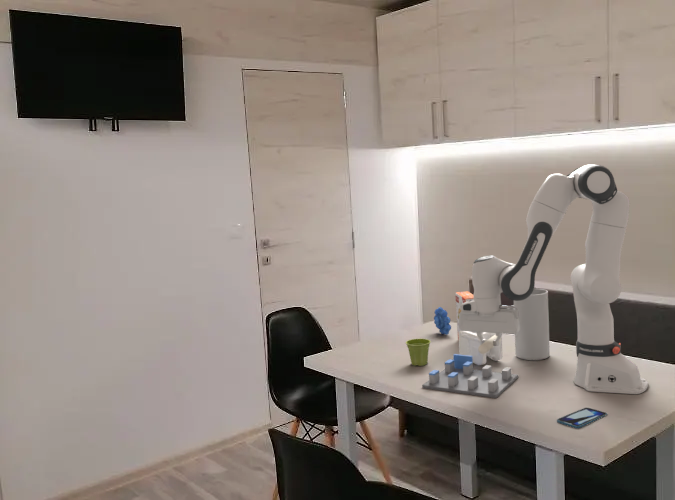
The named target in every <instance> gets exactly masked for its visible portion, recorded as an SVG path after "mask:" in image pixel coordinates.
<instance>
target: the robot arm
mask: <svg viewBox="0 0 675 500" xmlns="http://www.w3.org/2000/svg"><path fill="white" fill-rule="evenodd" d="M578 198H579V199H583V200H589V201H590V202H591V205H592V214H591V217H590V220H589V226H588V228H587V229H588V231H587V235H586V239H585V242H584V249H585V263H583V264H579V265H577V266H575V267H574V268H573V270H572V271H571V273H570V282H571V286H572V287H571V288H572V293H573V294H572V295H573V301H574V307H575V312H576V313H575V314H576V319H577V322H576V323H577V340H576V342H575V343H576V344H575V350H576V351H575V352H576V357H577V360H576V361H577V362H576V369H575V374H574V378H573V383H574V384H575V385H576V386H578V387H581V388H583V389H584V390H585V391H587V392H596V393H597V392H598V393H614V394H628V395H639V394H642V393H644V392H645V391H647V389H648V388H649V384H648V380H647V379H645V378H643V377H641V373H640V369H639V367H638V365H637V364H636V363H635V362H633V361H632V360H630V359H629V358H628V357H626V356H625V354H622V353H621V349H622V347H621V342H619V343H618V342H617V341H615V338H614V337H615V336H614V335H615V332H614V331H615V330H614V327H615V326H614V316H613V313H612V309H611V305H610V304H611V303H614V302H615V301H617V299H618V298H619V297H620V295H621V292H622V286H621V285H622V284H621V280H620V279H621V278H620V277H621V257H622V256H621V255H622V249H623V245H624V241H625V237H626V231H627V227H628V222H629V216H630V215H629V214H630V198H629V196H628V195H627V194H625V193H624V192H623V191H620V190H618V188H617V184H616V182H615V178H614V175H613V173H612V171H611V170H610V169H609V168H607V167H606V166H604V165H601V164H594V163H593V164H592V163H591V164H585V165H583V166H579V167H577V168H575V169H574V170H573V171H572V172H569V174H567V175H564V174H562V173H553V174H550V175H548V176H547V178H545V180H544V181H543V183H542V184H541V185H540V187H539V189H538V190H537V192H536V193H535V195H534V197H533V200H532V201H531V203H530V205H529V208H528V210H527V215H526V218H525V223H526V229H527V237H526V242H525V244H524V246H523V249H522V251H521V253H520V255H519V257H518V260H517V262H516V263H513V262H508V261H505V260H502V259H501V258H498V257H497V256H495V255H492V254H491V255H484V256H482V257H478V258H477V259H475V260H474V261H473V264H472V267H471V280H472V281H471V282H472V286H473V298H474V299H472V300H469V301H467V302H464V303H463V304H461V305H460V310H461V312H460V314H459V328H460V330H461V331H471V332H477V336H478V338H479V339H480V342H481V344H483V343H484V342H485V341H486V339H484V338H483V336H482V334H483V332H486V333H496V336H498V337H497V339H496V340H493V343H494V344H493V346H499V339H500V338H501V336H502V337H503V334H505V335H515V334H516V333H517V332H518V331H519V330H520V326H519V320H518V317H519V312H518V309H517V308H515V307H514V305H504V304H502V299H501V294H502V293H503V294H504V296H505V297H506V298H508V299H509V300H511V301H513V302H514V301H521V300H524V299H526V298H528V297H529V296H530V295H531V294H532V292H533V290H534V289H535V283H536V281H535V280H536V272H537V269H538V267H539V265H540V263H541V261H542V259H543V256H544V254H545V251H546V249H547V247H548V245H549V243H550V241H551V240H552V238H553V236H554V234H555V233H556V231H557V229H558V228H559V226H560V224H562V223H561V222H562V221H563V219H564V217H565V216H566V215H565V214H566V213H567V212H568V209H569V207H570V205H571V204H572V203H573V201H575V200H576V199H578ZM514 308H515V309H514Z"/></svg>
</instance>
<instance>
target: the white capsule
mask: <svg viewBox="0 0 675 500" xmlns="http://www.w3.org/2000/svg"><path fill="white" fill-rule="evenodd" d="M497 337H498V336H496V335H494V336H492V337H491V338H490V339H488V340H487V341H485V342H484V343H483V344H481V345H480V346H479V347H478V351H479V352H480V353H481V354H485V353H486V352H488V351H489V350H490V349H492V348H493V347H494V346H493V344H494V343H493V340H496V339H497ZM500 341H501V338H500V339H499V342H500Z"/></svg>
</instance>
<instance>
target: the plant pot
mask: <svg viewBox="0 0 675 500" xmlns="http://www.w3.org/2000/svg"><path fill="white" fill-rule="evenodd" d="M431 343H432V342H431V340H430V339H428V338H413V339H412V338H411V339H408V340H406V341H405V344H406V347H407V348H408V353H409V357H410V362H411V365H412V366H419V367H423V366H426V365H427V364H428V362H429V348H430V344H431Z"/></svg>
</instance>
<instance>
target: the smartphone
mask: <svg viewBox="0 0 675 500" xmlns="http://www.w3.org/2000/svg"><path fill="white" fill-rule="evenodd" d="M605 415H607V416H608V413H607V411H606V412H605V411H602V410H598V409H595V408H591V407H583V408H581V409H578V410H576V411H574V412H572V413H569V414H567V415H564V416H561V417H559V418H557V419H556V422H557V423H558V424H561V425H565V426H567V425H568V426H567V427H570V426H571V427H570V428H573V427H574V428H573V429H581V428H583V427H585V426H587V424H588V425H589V423H590V424H591V422H592V423H594V422H596V421H598V420H600V419H602V418H604V417H606V416H605ZM603 416H604V417H603ZM601 417H602V418H601ZM599 418H600V419H599ZM597 419H598V420H597ZM595 420H596V421H595ZM593 421H594V422H593ZM582 426H583V427H582ZM580 427H581V428H580Z"/></svg>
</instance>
